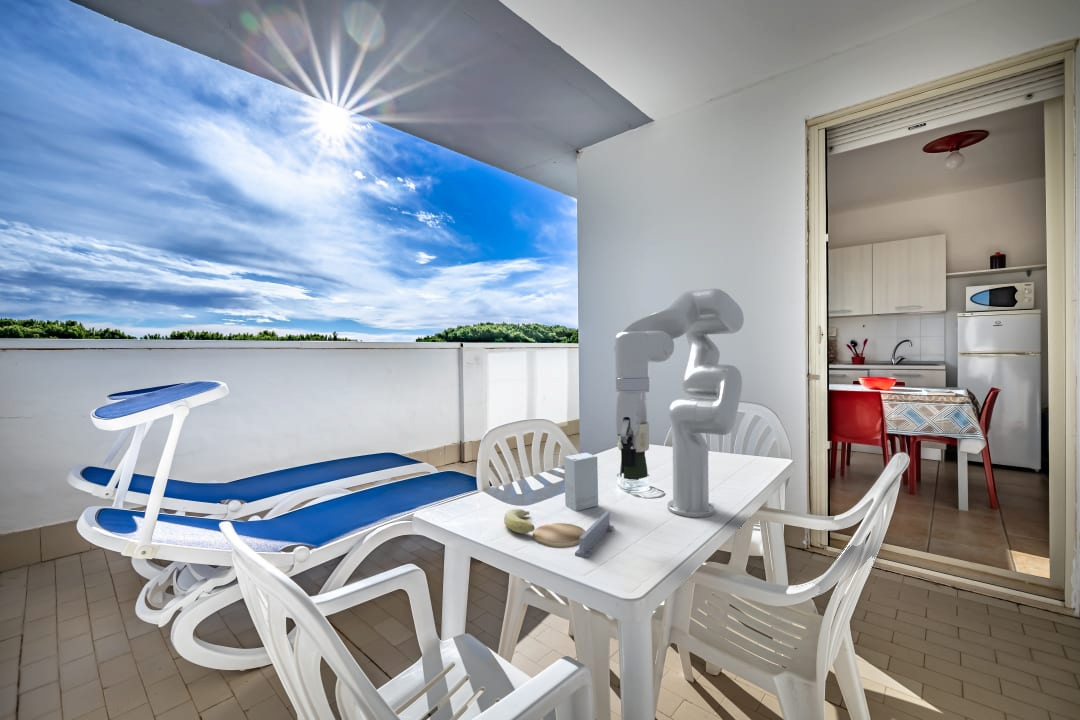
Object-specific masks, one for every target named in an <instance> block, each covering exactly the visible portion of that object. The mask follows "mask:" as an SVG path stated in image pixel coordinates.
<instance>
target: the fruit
mask: <svg viewBox="0 0 1080 720" xmlns="http://www.w3.org/2000/svg"><path fill="white" fill-rule="evenodd" d="M528 515H530V511H529V510H528V511H526V510H525V509H521V508H512V509H509V510H507V511H506V512H505V513H504V516H503V522H504V523H503V524H504V525H505V527H506V528H508V529H510V530H511V531H513V532H516V533H519V534H524V535H525V534H528V533H533V532H534V530H535V529H536V528H535V525H534V524H532V522H530V521H528V520H526V519H523V518H524V517H526V516H528Z"/></svg>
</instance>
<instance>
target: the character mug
mask: <svg viewBox="0 0 1080 720" xmlns="http://www.w3.org/2000/svg"><path fill="white" fill-rule="evenodd" d="M628 434H629V435H633V431H632V429H631V427H629V431H628ZM617 439H618V440H617V448H618V450H619V451H621V437H620V436H618V438H617ZM631 440H632V439H630V441H631ZM634 449H636V467H625V466H622V465H621V464H620V468H619V469H620V471H619V476H620V477H621V478H622V475H623V479H625V480H630V481H631V480H632V481H635V480H636V481H639V480H641V479H644V478H647V477H648V475H649V474H648V465H647V459H646V454H645V455H644V453H643V452H644V451H645V452H647V451H649V449H650V423H649V421H647V422H646V421H645V424H640V428H639V435H638V436H637V437H635V446H634Z"/></svg>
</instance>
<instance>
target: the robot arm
mask: <svg viewBox="0 0 1080 720" xmlns="http://www.w3.org/2000/svg"><path fill="white" fill-rule="evenodd" d="M744 317H745V316H744V313H743V310H742V308H741V306H740V305H739V304H738V303H737V302H736V301H735V300H734V299H733V298H732V297H731V296H730V295H729V294H728V293H727V292H725V291H724V290H722V289H721V288H707V289H696V290H688V291H684V292H681V293H679V295H677V296H676V297H675V298H674V299H673V300H671V302H669V303H668V304H667V305H666V306H665V307H664V308H663V309H661V310H658V311H656V312H654V313H652V314H648V316H644V317H642V318H640V319H637V320H635V321H633V322H631V323H630V324H628V325H627V326H626V327H624V328H623V329H622V331H620V332H618V333H617V334H616V336H615V339H614V344H613V348H614V349H613V351H614V354H615V355H614V356H615V357H614V359H615V361H614V362H615V363H614V364H615V393H617V399H616V412H615V413H616V414H615V417H616V418H615V434H616V436H620V437H621V450H620V452H621V453H620V455H621V456H620V466H621V465H622V466H625V467H636V449H634V446H635V437H637V436H638V435H639V428H640V424H645V421H646V422H648V419H647V418H648V416H647V413H648V412H647V398H646V397H647V395H646V393H650V363H662V362H665V361H668V360H669V359H670V358H671V357H672V356H673V353H674V350H675V342H674V339H678V338H680V337H682V336H683V335H685V337H686V340H687V343H688V347H689V352H688V358H687V363H686V366H685V369H684V373H683V378H682V384H681V385H682V389H683V392H684V393H685V394H686V395H688V397H687V396H686V397H679V398H676V399H674V400H673V401H672V402H671V403H670V405H669V406H668V407H669V408H668V420H669V424H670V428H671V429H670V430H671V438H672V439H671V440H672V499H671V500H669V501H668V502H667V509H668V510H669V511H670V512H671V513H673V514H676V515H679V516H683V517H689V518H704V517H706V518H707V517H710V516H712V515H714V514H715V511H716V510H715V509H716V508H715V506H714V505H713V504H712V503H710V501H709V500H710V499H709V496H710V495H709V447H708V445H707V442H706V440H705V438H704V437H703V435H702V434H709V435H717V436H718V435H719V436H727V435H729V434H730V433H732V431H733V429H734V428H735V424H736V420H737V415H738V410H739V405H740V400H741V395H742V390H743V387H742V386H743V379H742V373H741V371H740V369H739V368H738V367H737V366H735V365H731V364H719V362H720V358H721V357H720V356H721V355H720V350H719V348H718V347H717V345H716V343H715V342H714V341H712V339H711V338H710V337H709V336H708V335H728V334H735V333H737V332H739V331H740V330H741V329H742V327H743V325H744V319H745V318H744ZM689 396H690V397H689ZM629 427H631V429H632V431H633V435H629V434H628V431H629ZM630 439H632V440H631V441H630ZM643 453H644V455H645V456H646V451H644V452H643Z"/></svg>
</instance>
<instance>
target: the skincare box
mask: <svg viewBox="0 0 1080 720" xmlns="http://www.w3.org/2000/svg"><path fill="white" fill-rule="evenodd" d="M563 459H564V461H563V464H564V498H565V499H564V503H565V506H566V507H568V508H569V509H571V510H573V511H575V512H577V511H581V510H582V511H583V510H585V509H590V508H594V507H598V506H599V479H598V478H599V476H598V475H599V474H598V456H597V455H594V454H591V453H588V452H581V453H577V454H572V455H566V456H564V457H563Z"/></svg>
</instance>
